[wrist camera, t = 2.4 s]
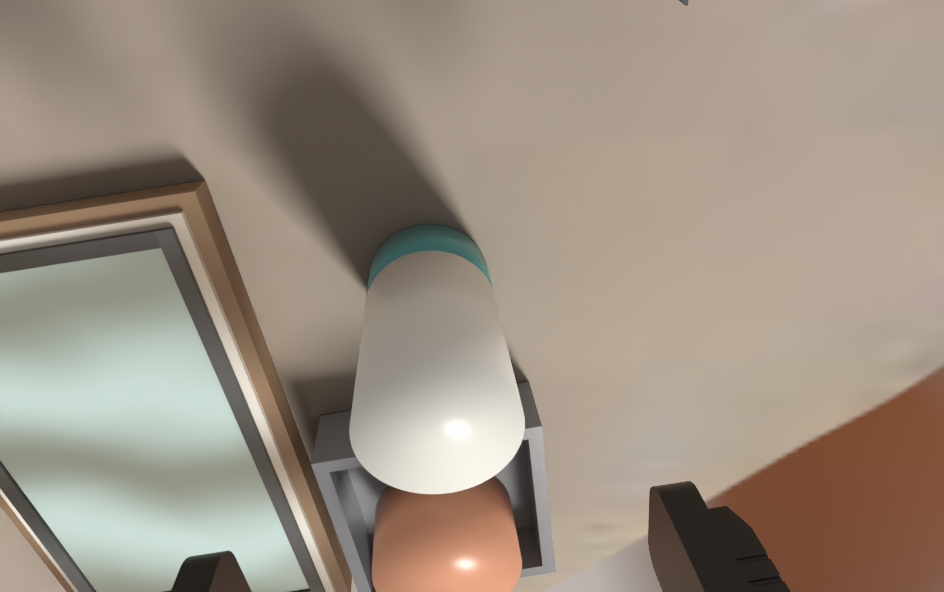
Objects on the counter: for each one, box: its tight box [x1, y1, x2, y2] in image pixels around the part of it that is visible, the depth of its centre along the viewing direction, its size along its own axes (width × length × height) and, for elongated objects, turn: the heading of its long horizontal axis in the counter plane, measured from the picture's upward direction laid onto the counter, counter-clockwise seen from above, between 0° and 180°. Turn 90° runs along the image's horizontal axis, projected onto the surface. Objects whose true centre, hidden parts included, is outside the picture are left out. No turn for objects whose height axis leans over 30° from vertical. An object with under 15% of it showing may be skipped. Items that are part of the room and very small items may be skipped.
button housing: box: [311, 382, 555, 592], centre depth 23 cm, size 8×8×2 cm
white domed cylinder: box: [349, 224, 525, 494], centre depth 17 cm, size 4×4×8 cm
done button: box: [372, 476, 522, 592], centre depth 22 cm, size 5×5×3 cm
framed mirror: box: [0, 180, 352, 592], centre depth 22 cm, size 19×11×1 cm, turn 8°
